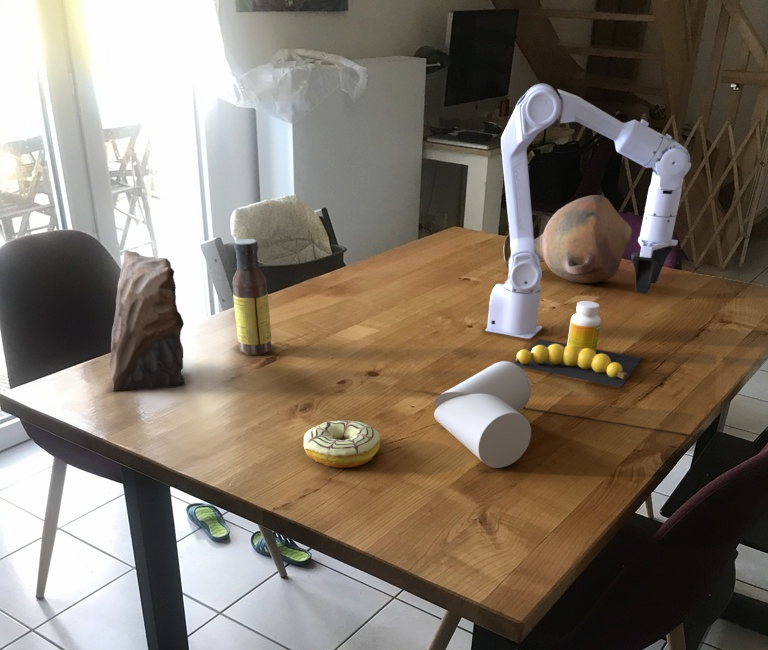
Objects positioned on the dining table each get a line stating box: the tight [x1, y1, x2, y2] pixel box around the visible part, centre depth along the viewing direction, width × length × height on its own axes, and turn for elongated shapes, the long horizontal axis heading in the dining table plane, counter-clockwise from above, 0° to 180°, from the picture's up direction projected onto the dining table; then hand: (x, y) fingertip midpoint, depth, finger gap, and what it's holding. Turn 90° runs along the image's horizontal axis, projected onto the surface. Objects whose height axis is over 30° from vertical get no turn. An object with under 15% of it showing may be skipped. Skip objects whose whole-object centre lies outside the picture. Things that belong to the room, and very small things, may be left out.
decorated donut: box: [303, 419, 381, 469], centre depth 115 cm, size 10×11×4 cm
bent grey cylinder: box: [433, 360, 532, 469], centre depth 120 cm, size 18×11×20 cm
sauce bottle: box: [232, 238, 272, 356], centre depth 145 cm, size 6×6×20 cm
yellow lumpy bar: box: [514, 344, 627, 379], centre depth 144 cm, size 20×6×4 cm, turn 70°
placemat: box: [513, 338, 642, 388], centre depth 149 cm, size 20×16×1 cm
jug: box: [502, 194, 633, 284], centre depth 192 cm, size 20×20×30 cm
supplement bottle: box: [566, 300, 602, 353], centre depth 149 cm, size 5×5×10 cm
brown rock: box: [109, 250, 186, 392], centre depth 133 cm, size 13×13×20 cm
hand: (645, 287), depth 155 cm, fingers open, 7 cm apart
